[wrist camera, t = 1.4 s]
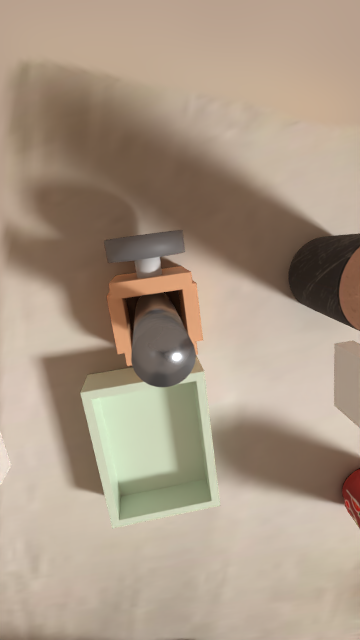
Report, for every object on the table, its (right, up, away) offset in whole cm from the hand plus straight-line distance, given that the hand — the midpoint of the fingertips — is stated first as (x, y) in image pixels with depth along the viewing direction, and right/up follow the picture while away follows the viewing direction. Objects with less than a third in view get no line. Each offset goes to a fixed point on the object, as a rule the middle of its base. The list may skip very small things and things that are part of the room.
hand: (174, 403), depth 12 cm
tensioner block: (-2, +6, +18) cm, 19 cm away
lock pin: (-2, +4, +18) cm, 19 cm away
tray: (-3, -9, +21) cm, 23 cm away
